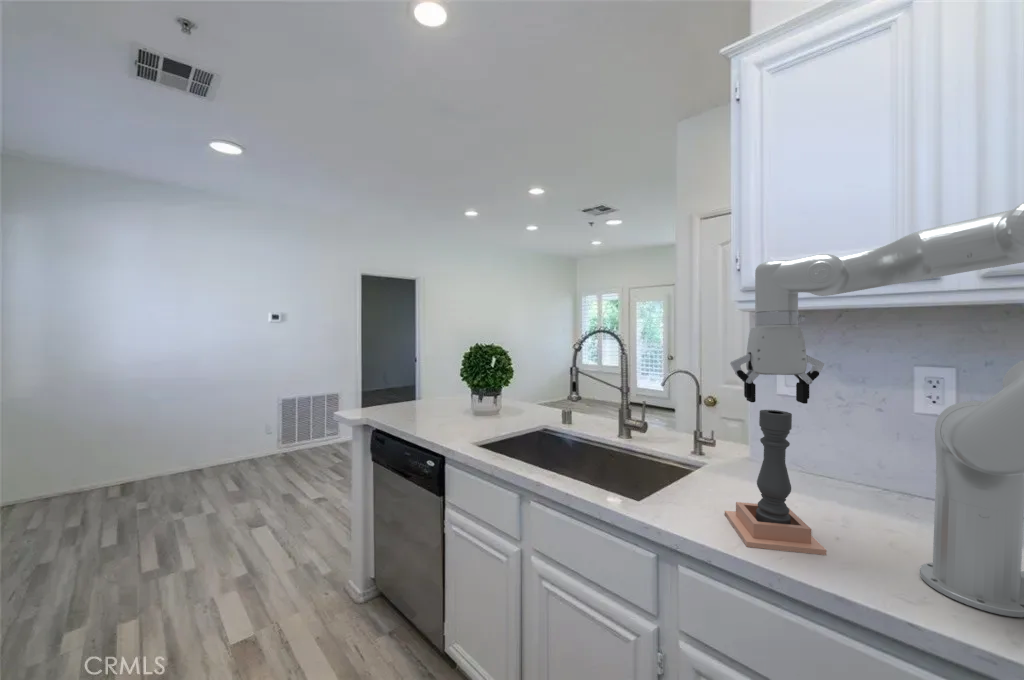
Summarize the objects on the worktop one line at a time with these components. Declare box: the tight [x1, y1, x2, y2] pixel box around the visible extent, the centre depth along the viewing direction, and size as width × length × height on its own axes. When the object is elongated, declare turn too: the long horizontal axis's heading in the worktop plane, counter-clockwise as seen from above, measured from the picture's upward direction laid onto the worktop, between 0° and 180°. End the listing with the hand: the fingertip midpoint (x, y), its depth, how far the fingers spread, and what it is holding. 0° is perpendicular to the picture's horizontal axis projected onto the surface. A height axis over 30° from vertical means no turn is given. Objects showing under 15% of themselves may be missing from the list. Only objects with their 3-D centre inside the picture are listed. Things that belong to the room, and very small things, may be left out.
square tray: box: [724, 501, 828, 556], centre depth 85 cm, size 14×14×4 cm
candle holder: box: [756, 409, 793, 525], centre depth 84 cm, size 6×6×25 cm
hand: (776, 401), depth 84 cm, fingers open, 9 cm apart
